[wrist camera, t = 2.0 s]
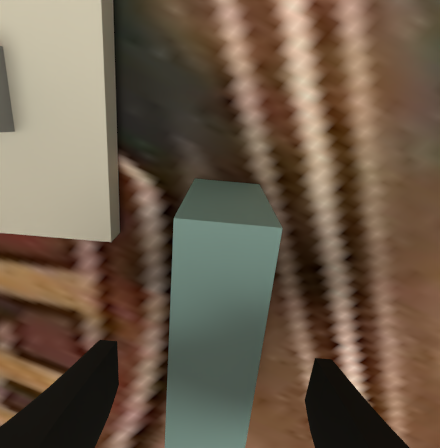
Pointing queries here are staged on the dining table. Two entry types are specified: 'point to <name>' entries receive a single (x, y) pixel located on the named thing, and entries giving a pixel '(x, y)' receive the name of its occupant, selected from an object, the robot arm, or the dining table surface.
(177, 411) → the teal rectangular block
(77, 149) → the hinge board
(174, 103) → the dining table surface
